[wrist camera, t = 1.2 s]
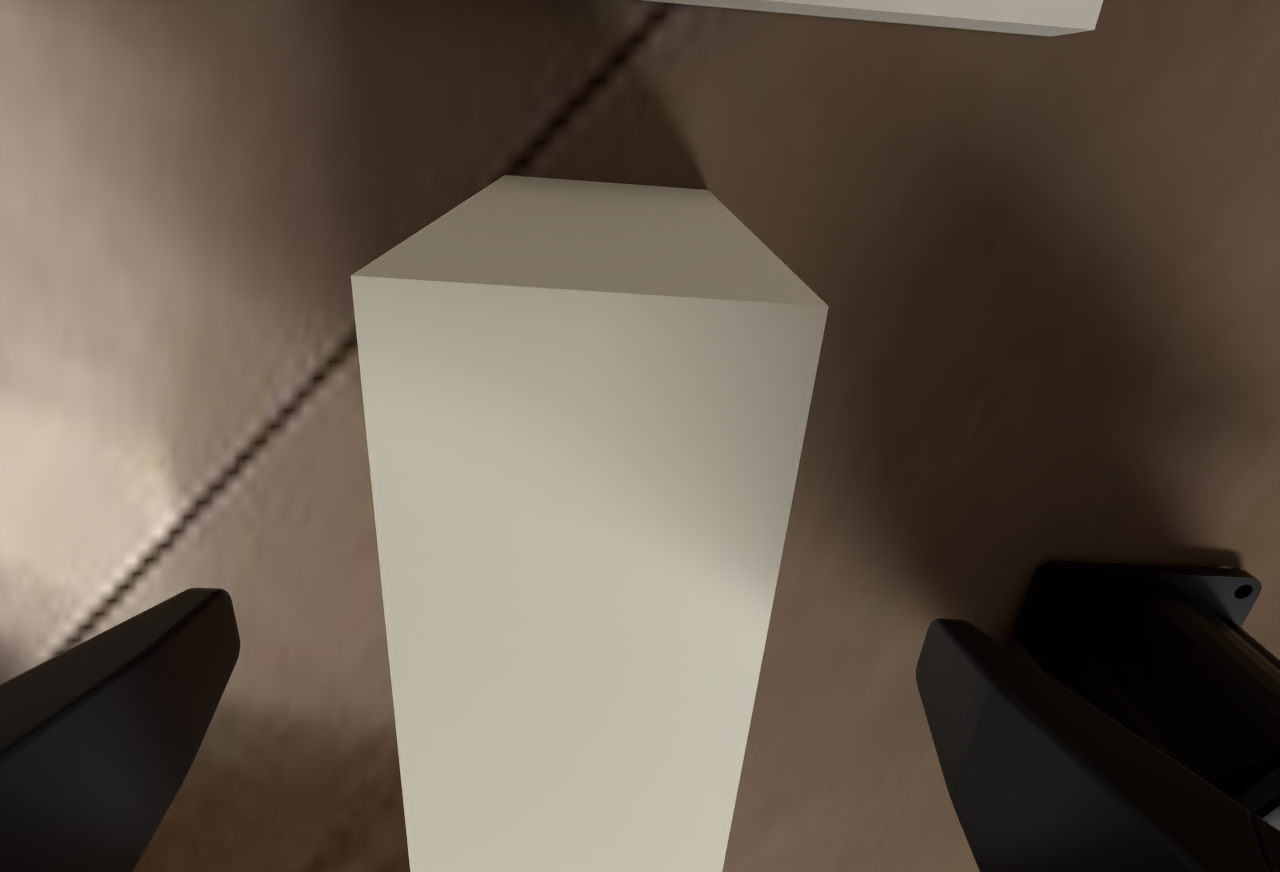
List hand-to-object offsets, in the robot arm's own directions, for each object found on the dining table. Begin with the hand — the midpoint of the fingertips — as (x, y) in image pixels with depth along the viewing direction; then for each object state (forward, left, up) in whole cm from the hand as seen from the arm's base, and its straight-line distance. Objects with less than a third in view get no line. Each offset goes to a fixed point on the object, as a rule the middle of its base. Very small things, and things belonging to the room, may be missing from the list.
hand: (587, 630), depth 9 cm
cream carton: (0, 0, -9) cm, 9 cm away
